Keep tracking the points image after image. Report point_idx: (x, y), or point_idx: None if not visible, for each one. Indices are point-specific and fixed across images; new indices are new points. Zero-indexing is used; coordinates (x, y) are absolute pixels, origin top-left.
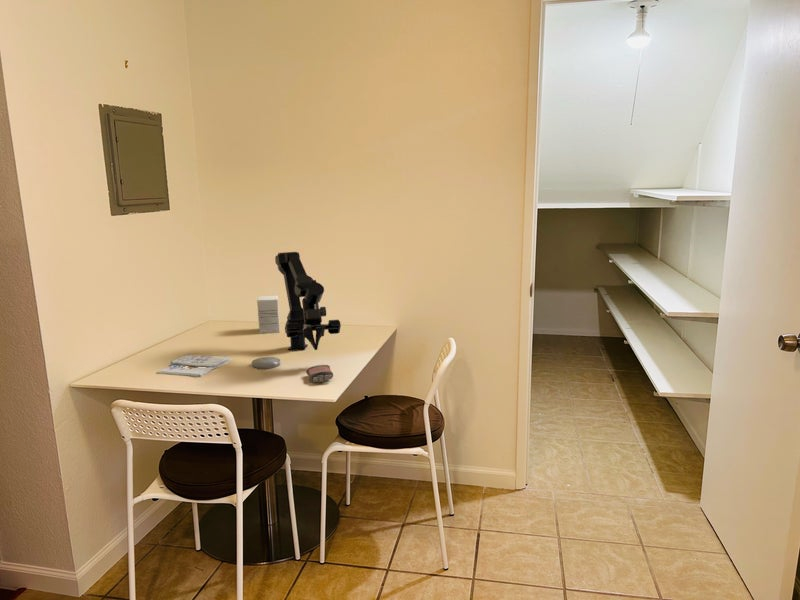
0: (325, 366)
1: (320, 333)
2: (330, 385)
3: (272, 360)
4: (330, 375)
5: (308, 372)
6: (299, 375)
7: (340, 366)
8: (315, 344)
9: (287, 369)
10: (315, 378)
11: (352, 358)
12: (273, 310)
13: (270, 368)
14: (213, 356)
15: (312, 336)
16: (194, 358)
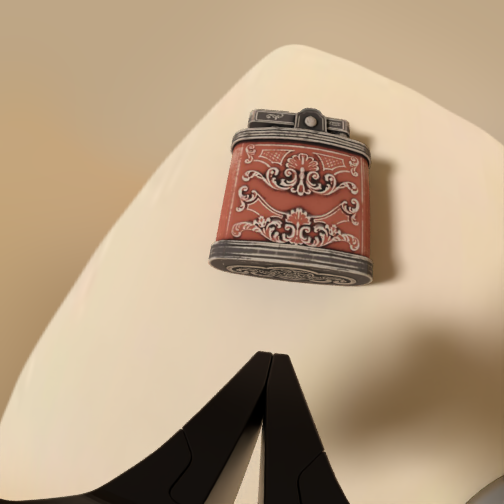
0: (241, 235)
1: (95, 493)
2: None
3: None
4: (256, 111)
5: (368, 214)
6: (401, 315)
7: (121, 377)
8: (268, 387)
9: (436, 452)
10: (338, 119)
11: (43, 459)
12: None
13: (497, 479)
14: None
15: (291, 499)
16: None
